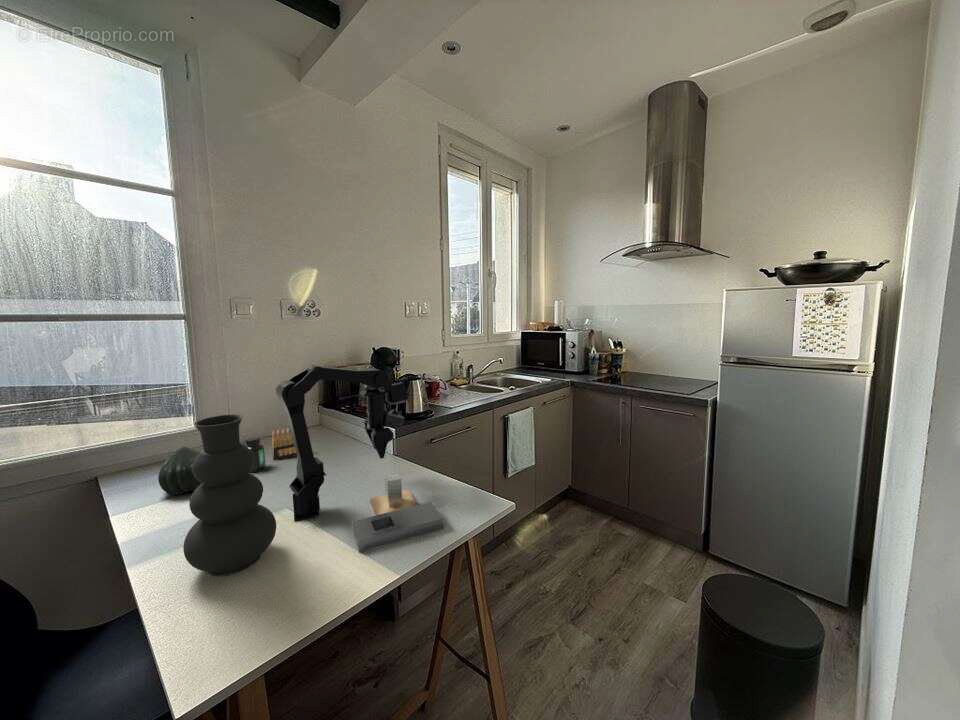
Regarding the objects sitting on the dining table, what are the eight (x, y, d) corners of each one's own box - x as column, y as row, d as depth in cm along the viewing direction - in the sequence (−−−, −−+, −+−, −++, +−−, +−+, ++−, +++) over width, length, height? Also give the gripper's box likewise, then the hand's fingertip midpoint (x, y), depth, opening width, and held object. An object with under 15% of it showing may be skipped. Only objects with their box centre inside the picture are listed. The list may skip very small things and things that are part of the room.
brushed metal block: (388, 507, 114) (387, 481, 113) (386, 501, 117) (384, 476, 116) (402, 504, 115) (401, 478, 114) (399, 498, 119) (397, 473, 118)
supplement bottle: (268, 469, 146) (265, 438, 144) (247, 474, 141) (244, 443, 139) (262, 464, 151) (259, 434, 149) (242, 469, 146) (239, 438, 144)
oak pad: (378, 521, 109) (377, 517, 108) (370, 502, 119) (370, 498, 119) (419, 510, 114) (419, 506, 114) (408, 493, 125) (408, 489, 124)
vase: (291, 559, 93) (278, 417, 88) (199, 603, 79) (177, 439, 75) (262, 530, 105) (249, 405, 100) (178, 565, 92) (159, 421, 87)
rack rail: (359, 552, 95) (358, 541, 95) (353, 531, 104) (352, 521, 103) (443, 528, 104) (443, 518, 104) (431, 511, 113) (430, 501, 113)
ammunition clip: (273, 460, 154) (270, 431, 152) (273, 459, 155) (270, 430, 154) (302, 454, 160) (300, 426, 158) (302, 453, 161) (299, 425, 160)
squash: (187, 487, 120) (204, 441, 128) (139, 490, 120) (159, 443, 128) (215, 498, 132) (228, 456, 140) (171, 501, 132) (187, 458, 140)
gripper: (408, 410, 120) (411, 458, 122) (394, 398, 137) (396, 440, 139) (372, 415, 115) (375, 465, 117) (361, 402, 132) (364, 446, 134)
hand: (379, 453), depth 127 cm, fingers open, 9 cm apart
